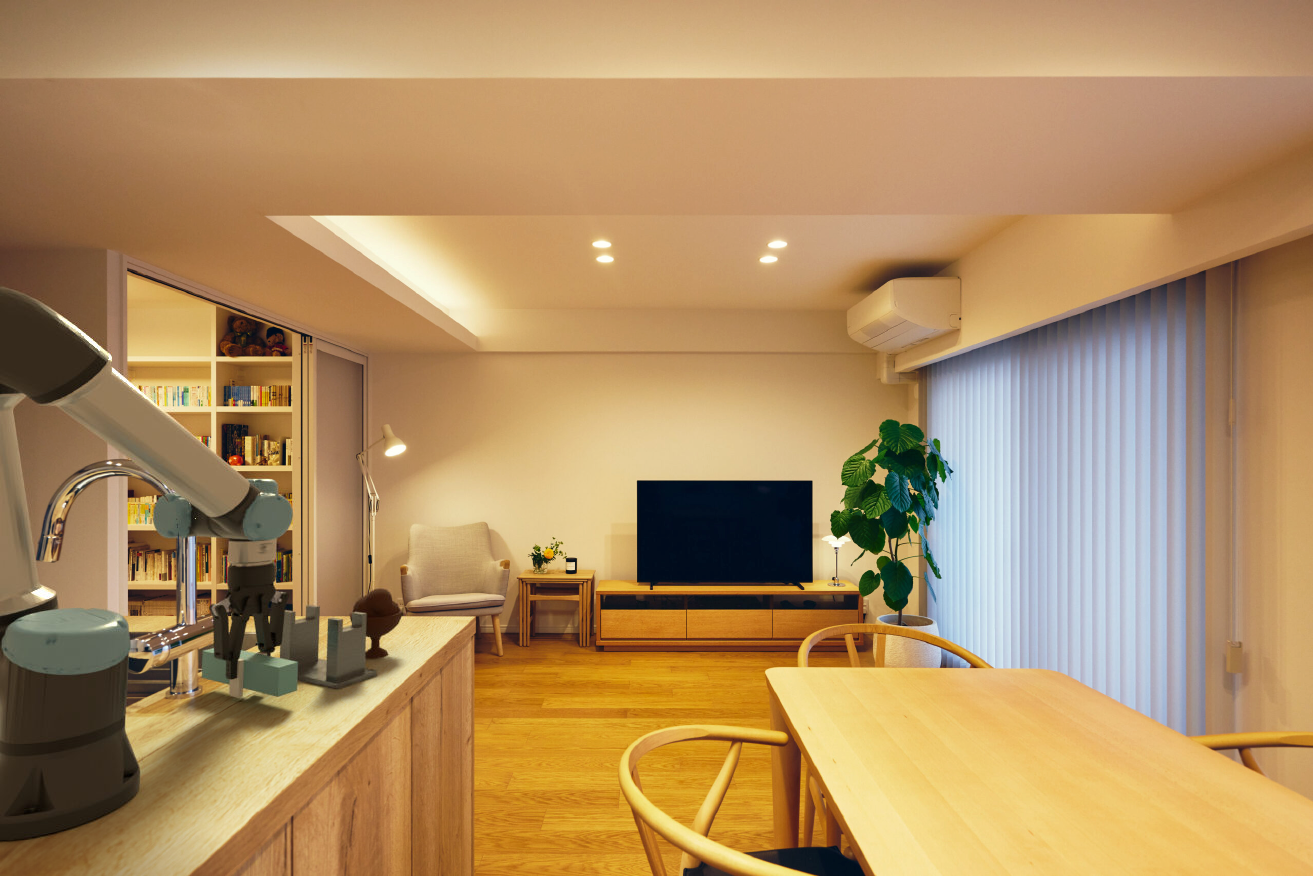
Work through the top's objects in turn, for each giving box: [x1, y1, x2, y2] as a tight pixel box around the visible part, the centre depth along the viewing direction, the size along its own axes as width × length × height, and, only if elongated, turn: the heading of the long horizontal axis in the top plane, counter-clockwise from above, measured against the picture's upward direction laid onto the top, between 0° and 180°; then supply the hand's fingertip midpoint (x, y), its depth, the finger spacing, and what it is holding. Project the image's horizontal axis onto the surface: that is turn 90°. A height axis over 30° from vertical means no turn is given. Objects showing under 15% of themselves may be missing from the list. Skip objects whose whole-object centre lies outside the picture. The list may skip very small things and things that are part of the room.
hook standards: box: [279, 604, 378, 690], centre depth 130 cm, size 9×21×12 cm, turn 65°
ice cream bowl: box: [349, 588, 403, 660], centre depth 143 cm, size 11×11×15 cm
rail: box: [201, 647, 298, 698], centre depth 116 cm, size 22×4×5 cm, turn 65°
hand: (247, 692), depth 116 cm, fingers closed on rail, 3 cm apart
